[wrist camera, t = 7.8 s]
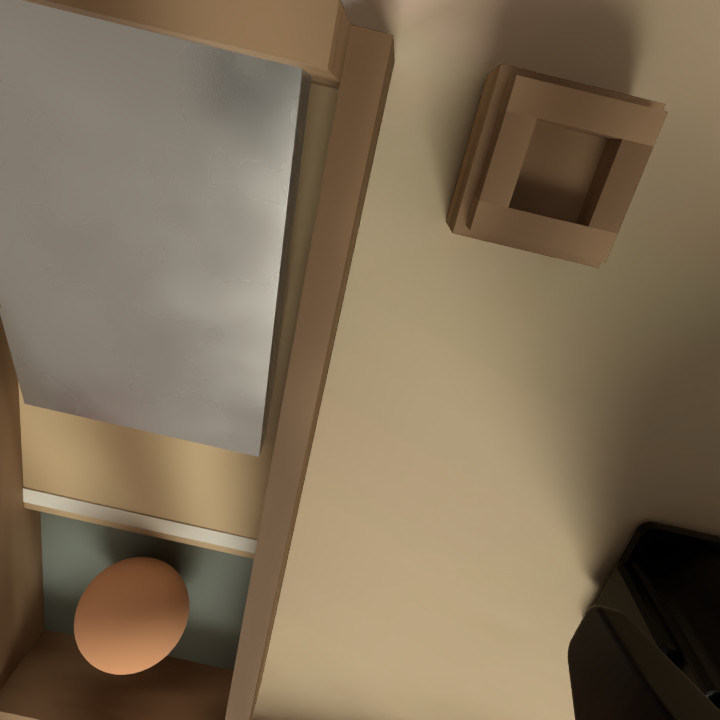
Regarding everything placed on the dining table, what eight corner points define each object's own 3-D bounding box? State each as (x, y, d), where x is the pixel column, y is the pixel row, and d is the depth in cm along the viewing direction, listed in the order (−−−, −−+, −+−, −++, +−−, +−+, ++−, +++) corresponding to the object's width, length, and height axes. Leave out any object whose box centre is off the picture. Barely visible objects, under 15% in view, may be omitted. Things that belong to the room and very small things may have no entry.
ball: (152, 691, 19) (196, 564, 21) (33, 662, 19) (89, 538, 21) (175, 681, 22) (210, 575, 25) (76, 658, 22) (119, 553, 25)
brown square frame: (627, 110, 16) (685, 101, 12) (573, 252, 17) (611, 275, 14) (486, 75, 16) (508, 58, 12) (446, 221, 17) (455, 239, 14)
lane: (394, 60, 16) (391, 9, 10) (260, 682, 27) (221, 834, 21) (0, -36, 15) (-250, -148, 9) (31, 633, 26) (-73, 772, 21)
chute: (331, 62, 15) (306, 32, 11) (266, 440, 20) (233, 514, 16) (34, -9, 15) (-102, -67, 11) (45, 389, 20) (-45, 451, 16)
